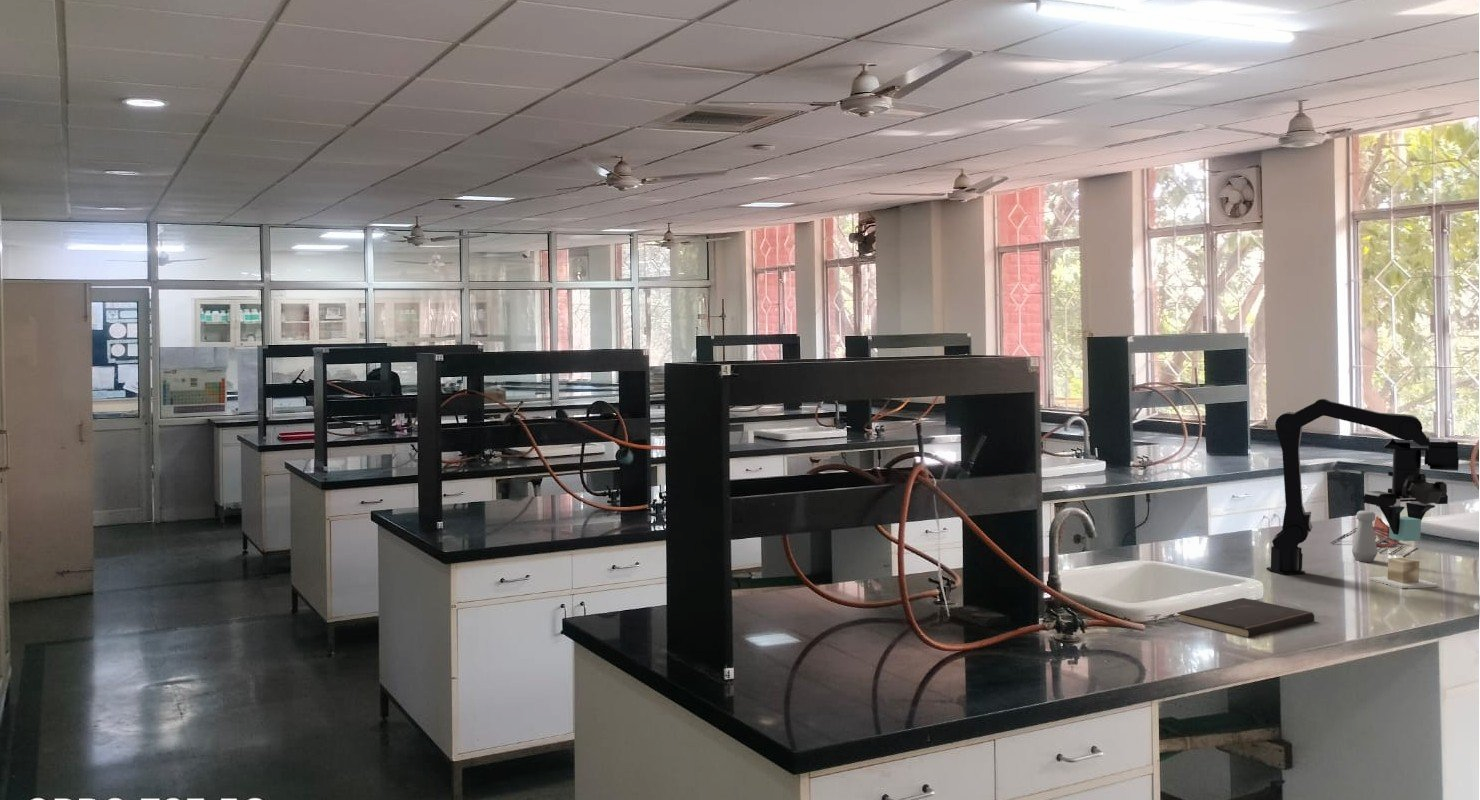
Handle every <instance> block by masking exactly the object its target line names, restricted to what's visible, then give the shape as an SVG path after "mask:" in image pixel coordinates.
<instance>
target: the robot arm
mask: <svg viewBox="0 0 1480 800" xmlns="http://www.w3.org/2000/svg"><path fill="white" fill-rule="evenodd" d="M1324 416H1325V417H1329V418H1333V419H1337V420H1341V421H1346V422H1350V423H1354V424H1359V425H1361V426H1366V427H1370V428H1374V429H1376V430H1380V431H1382V432H1384V433H1386V434H1389V435H1391V436H1393V437H1396V438H1398V439H1400V440H1403V441H1397V440H1395V439H1394V438H1391V439H1390V440H1389V441H1388V442H1387V443H1385V444H1384V449H1386V450H1387V449H1388V450H1389V449H1390V450H1393V451H1392V470H1391V471H1390V470H1389V471H1388V474H1387V475H1388V476H1389V477H1392V478H1391V479H1392V480H1391V481H1392V482H1391V483H1392V484H1391V488H1387V492H1386V491H1380V490H1370V491H1366V492H1365V493H1364V494H1363V504H1368V505H1373V506H1374V505H1375V506H1376V507H1379V509H1380V511H1381V512H1382V514H1383V515H1384V518H1385V520H1386V521H1387V523H1388V526H1390V528H1391V530H1392V532H1393V534H1396V535H1398V533H1399V525H1400V517H1401V513H1402V511H1403V510H1404V509H1405V508H1406V511H1407V512H1406V513H1407V517H1411V518H1416V519H1421V521H1422V520H1423V519H1424V516H1425V515H1426V513H1427V512H1428V511H1429V510H1431V509H1434V508H1436V505H1447V504H1448V503H1449V502H1448V501H1449V499H1448V497H1449V496H1448V494H1447V493H1448V485H1447V483H1445V482H1444V481H1435V482H1428V481H1427V476H1426V474H1425V473H1422V470H1421V469H1422V451H1424V457H1423V458H1424V465H1425V466H1426V465H1427V467H1429V470H1432V471H1433V470H1434V471H1453V472H1458V471H1459V462H1460V461H1459V460H1460V459H1459V458H1460V457H1459V452H1458V451H1459V443H1458V441H1454V440H1453V441H1452V440H1451V441H1433V440H1432V441H1431V439H1430V437H1429V436H1427V435H1426V434H1425V432H1423V424H1422V422H1421V421H1420V419H1419V418H1418V417H1417V416H1415V415H1412V414H1402V413H1389V412H1386V413H1385V412H1379V411H1373V410H1370V409H1369V410H1368V409H1366V408H1361V407H1358V406H1357V407H1356V406H1353V405H1349V404H1344V403H1340V402H1335V401H1331V400H1329V399H1327V398H1320V399H1317V400H1315V402H1313V403H1311V404H1309V405H1307V406H1305V407H1303V408H1301V409H1299V410H1298V411H1296V412H1291V411H1289V412H1288V411H1287V412H1285V413H1282V414H1281V415H1279V416H1278V417H1277V419H1276V420H1275V424H1274V428H1275V431H1276V435H1277V440H1278V442H1279V445H1280V447H1281V451H1282V453H1281V454H1282V466H1283V467H1282V468H1283V481H1284V499H1285V500H1284V501H1285V508H1284V514H1283V515H1284V516H1283V521H1282V527H1281V528H1282V530H1280V532H1279V531H1278V533H1277V534H1275V535H1274V537H1273V539H1272V541H1271V542H1272V544H1273V545H1271V546H1270V547H1271V548H1270V567H1269V566H1268V567H1266V570H1267V571H1271V572H1274V573H1278V574H1280V575H1297V574H1306V571H1305V570H1303V555H1304V554H1303V553H1302V549H1303V548H1302V547H1300V546H1299V544H1302V543H1304V541H1306V540H1307V538H1308V536H1309V534H1310V532H1312V529H1313V525H1312V523H1311V522H1312V521H1311V517H1312V511H1307V512H1306V511H1305V507H1304V503H1303V489H1302V475H1301V474H1302V473H1301V472H1302V471H1301V460H1300V459H1301V458H1300V446H1301V439H1302V436H1303V435H1302V434H1303V433H1302V432H1303V427H1304V426H1305V425H1308V424H1310V423H1311V422H1314V421H1315V420H1318V419H1319V418H1321V417H1324ZM1409 441H1412V442H1414V443H1416V444H1418V445H1419V446H1415V445H1414V446H1413V445H1411V442H1409ZM1401 502H1402V503H1403V502H1404V503H1405V505H1406V506H1401ZM1434 504H1435V505H1434Z"/></svg>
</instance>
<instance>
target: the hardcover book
mask: <svg viewBox="0 0 1480 800" xmlns="http://www.w3.org/2000/svg"><path fill="white" fill-rule="evenodd" d="M1177 615H1179V618H1178V619H1179V622H1184V623H1186V624H1187V623H1188V624H1191V625H1196V626H1200V627H1205V628H1207V629H1208V628H1209V629H1213V630H1217V631H1221V632H1224V633H1230V634H1233V635H1236V636H1242V637H1246V638H1248V639H1249V638H1253V637H1257V636H1261V635H1265V634H1269V633H1274V632H1277V631H1281V630H1284V629H1288V628H1293V627H1298V626H1300V625H1301V626H1302V625H1304V624H1308V623H1312V622H1315V614H1314V613H1313V612H1312V611H1307V610H1304V609H1297V608H1294V607H1289V606H1283V605H1279V604H1274V603H1273V604H1272V603H1268V602H1263V601H1261V600H1260V601H1259V600H1255V599H1249V598H1244V597H1242V598H1241V597H1240V598H1236V599H1232V600H1227V601H1224V602H1218V603H1214V604H1210V605H1205V606H1200V607H1199V606H1198V607H1195V608H1191V609H1185V610H1182V611H1177Z"/></svg>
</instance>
